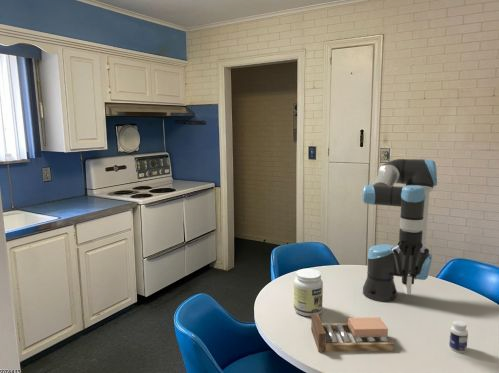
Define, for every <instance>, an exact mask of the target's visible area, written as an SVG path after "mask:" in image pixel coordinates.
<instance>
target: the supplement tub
mask: <svg viewBox="0 0 499 373" xmlns="http://www.w3.org/2000/svg"><path fill="white" fill-rule="evenodd" d="M323 291H324V283H323V280H322V273H321V272H320V271H319V270H316V269H313V268H302V269H298V270H297V271H296V275H295V278H294V281H293V310H294V311H295V312H296V313H297V314H298V315H300V316H303V317H312V313H318V315H319V314H321V313H322V311H323V298H324V297H323V294H324V293H323Z"/></svg>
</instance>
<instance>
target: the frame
mask: <svg viewBox="0 0 499 373" xmlns="http://www.w3.org/2000/svg"><path fill="white" fill-rule="evenodd" d="M322 322H323V321H322V320H321V318H320V316H319V314H318V313H312V316H311V328H310V329H311V333H312V336H313V339H314V342H315V345H316V349H317V351H318V353H333V352H334V353H338V352H340V353H341V352H343V353H344V352H345V353H346V352H383V351H384V352H385V351H387V352H389V351H394V349H395V348H394V346H395V345H394V342H393V341H388V342H381V341H376V342H368V341H363V342H359V343H356V342H350V343H343V342H338V343H331V342H327V341H326V339H327V332H326V330H325V327H324V326H325V325H326V324H327V323H322ZM329 324H330V326H331V328H332V330H333V332H338V330H337V328H336V325H337V324H339V322H335V323H333V322H332V323H329ZM340 324H342V326H343V328H344V330H345V332H350V330H349V328H348V322H346V323H345V322H342V323H340Z"/></svg>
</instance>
